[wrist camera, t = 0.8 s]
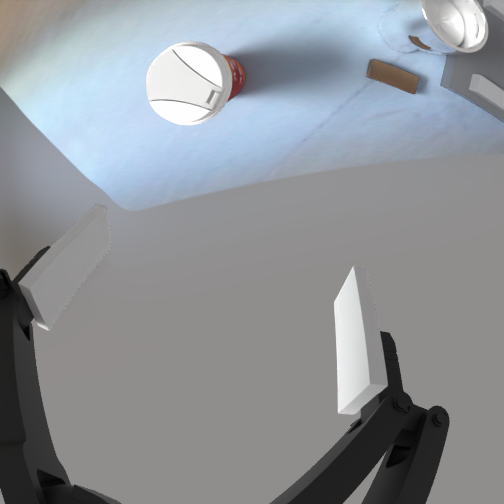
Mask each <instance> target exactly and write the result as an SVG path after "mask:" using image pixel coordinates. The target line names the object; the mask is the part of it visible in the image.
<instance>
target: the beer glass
mask: <svg viewBox="0 0 504 504" xmlns="http://www.w3.org/2000/svg"><path fill="white" fill-rule="evenodd" d="M378 31H379V34H380V36H381V38H382V40H383V41H384V42H385V43H386V44H387V45H388V46H389V47H391V48H392V49H394V50H396V51H399V52H403V53H409V52H413V51H415V50H417V49H419V50H422V51H425V52H429V53H433V54H443V55H451V54H461V53H471V52H476V51H478V50H480V49H481V48H482V47H483V46H484V45H485V43H486V41H487V38H488V23H487V19H486V16H485V14H484V11H483V9H482V8H481V6H480V5H479V3H478V2H477V0H400V2H399V3H398V5H397V6H396V8H395V9H390V10H387V11H385V12H384V13H383V14H382V15H381V16H380V18H379V20H378Z"/></svg>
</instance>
